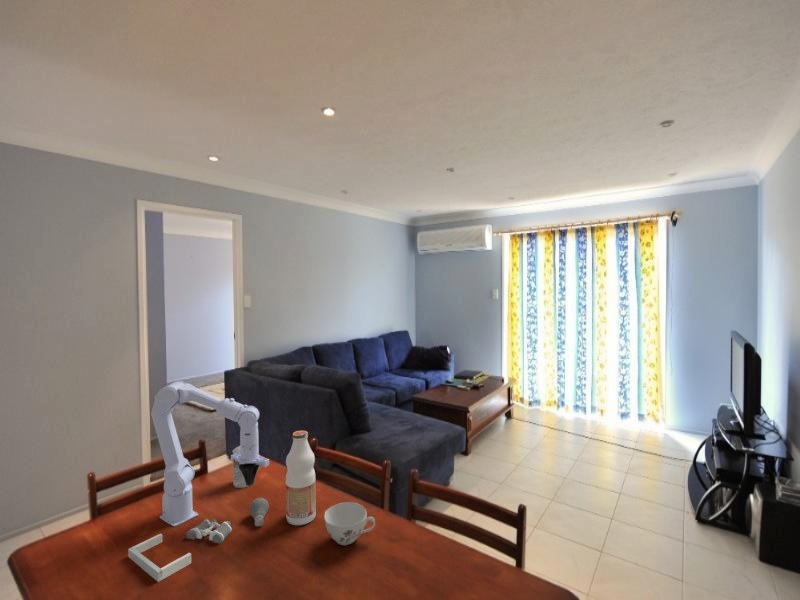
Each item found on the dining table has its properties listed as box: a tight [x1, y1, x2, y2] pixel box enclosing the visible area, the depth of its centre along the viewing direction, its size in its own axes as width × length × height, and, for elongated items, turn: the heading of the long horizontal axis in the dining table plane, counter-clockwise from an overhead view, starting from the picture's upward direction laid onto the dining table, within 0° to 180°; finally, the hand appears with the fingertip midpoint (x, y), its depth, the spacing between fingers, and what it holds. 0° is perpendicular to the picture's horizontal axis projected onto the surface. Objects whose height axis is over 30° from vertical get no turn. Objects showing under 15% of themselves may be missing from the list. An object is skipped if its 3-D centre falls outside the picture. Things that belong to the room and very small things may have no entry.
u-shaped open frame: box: [127, 533, 192, 583], centre depth 109 cm, size 17×8×2 cm, turn 56°
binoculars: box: [185, 518, 233, 545], centre depth 121 cm, size 12×8×4 cm, turn 78°
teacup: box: [323, 501, 376, 546], centre depth 117 cm, size 15×12×8 cm
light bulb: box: [249, 497, 270, 528], centre depth 128 cm, size 6×6×10 cm
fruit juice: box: [285, 430, 317, 526], centre depth 129 cm, size 9×9×28 cm
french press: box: [231, 445, 262, 489], centre depth 151 cm, size 10×12×25 cm
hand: (250, 484), depth 132 cm, fingers closed
